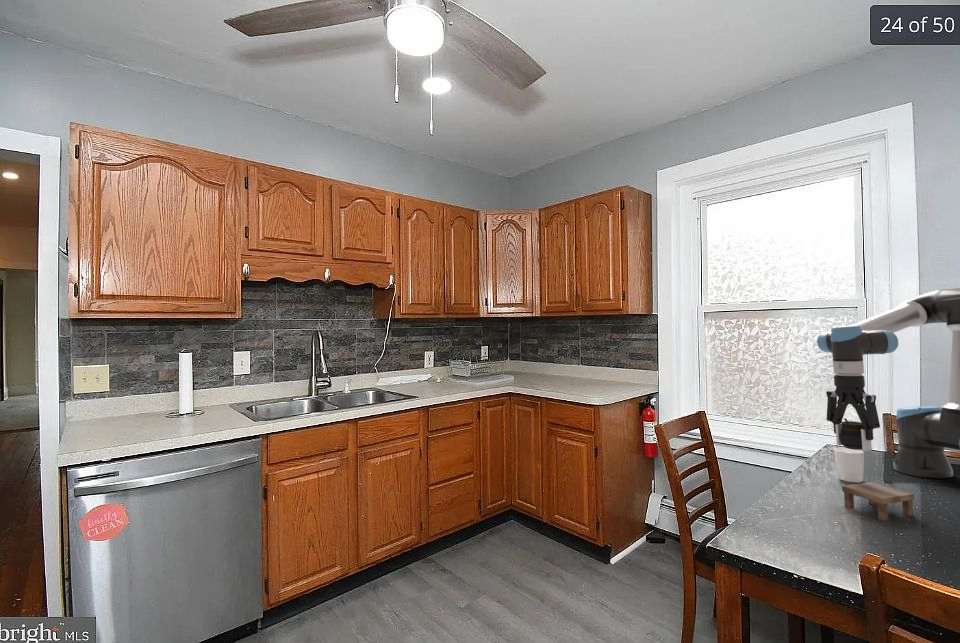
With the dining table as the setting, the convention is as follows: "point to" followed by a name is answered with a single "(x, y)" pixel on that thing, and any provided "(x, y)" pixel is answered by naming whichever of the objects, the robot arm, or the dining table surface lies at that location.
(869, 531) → the dining table surface
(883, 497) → the walnut stool
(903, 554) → the dining table surface
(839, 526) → the dining table surface
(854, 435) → the mate gourd
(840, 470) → the white cup
